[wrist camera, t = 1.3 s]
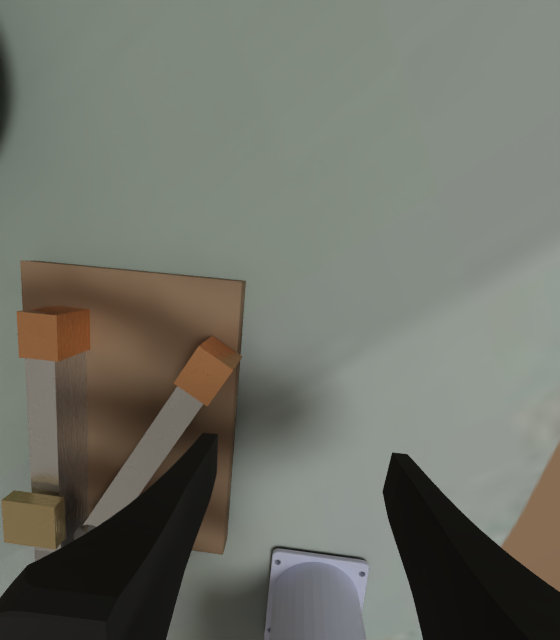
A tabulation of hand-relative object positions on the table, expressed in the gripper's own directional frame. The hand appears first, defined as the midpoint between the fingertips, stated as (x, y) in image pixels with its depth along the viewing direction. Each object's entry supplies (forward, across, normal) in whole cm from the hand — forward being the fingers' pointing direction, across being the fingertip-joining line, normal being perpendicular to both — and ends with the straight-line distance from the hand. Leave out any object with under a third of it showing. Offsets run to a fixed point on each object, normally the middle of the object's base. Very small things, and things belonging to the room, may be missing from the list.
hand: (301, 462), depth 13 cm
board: (+11, +12, +6) cm, 17 cm away
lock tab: (+5, +17, +11) cm, 21 cm away
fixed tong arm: (+9, +15, +7) cm, 19 cm away
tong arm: (+9, +10, +7) cm, 15 cm away
